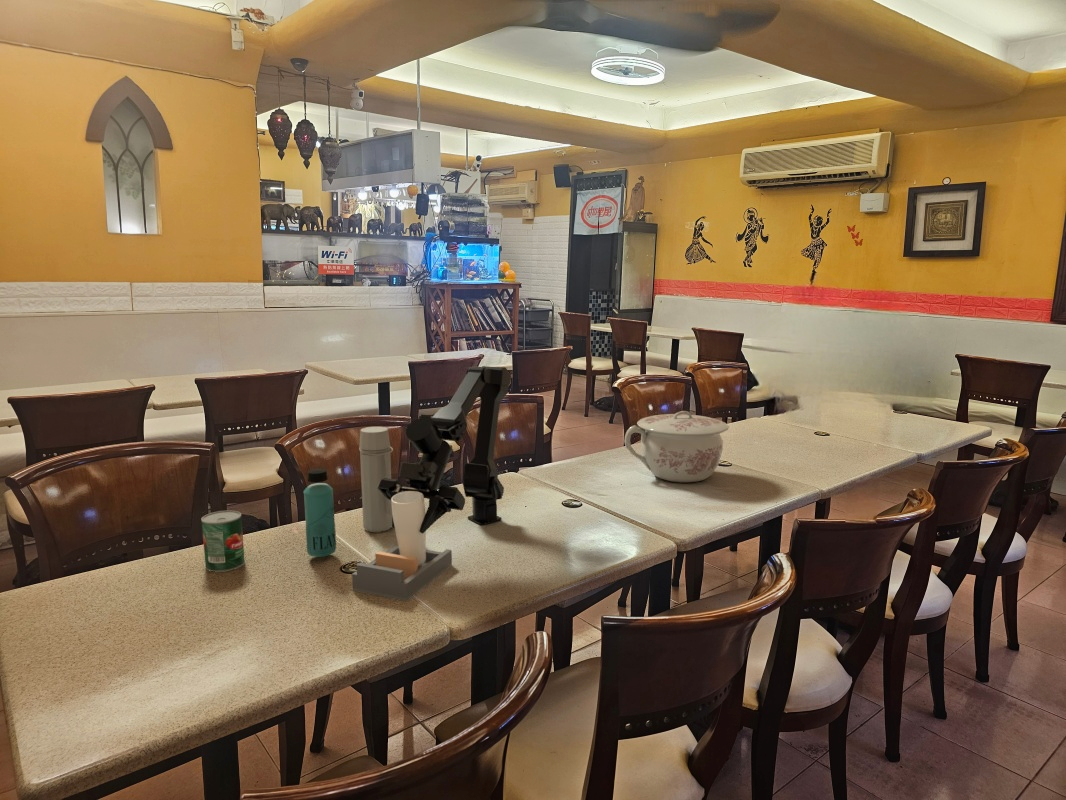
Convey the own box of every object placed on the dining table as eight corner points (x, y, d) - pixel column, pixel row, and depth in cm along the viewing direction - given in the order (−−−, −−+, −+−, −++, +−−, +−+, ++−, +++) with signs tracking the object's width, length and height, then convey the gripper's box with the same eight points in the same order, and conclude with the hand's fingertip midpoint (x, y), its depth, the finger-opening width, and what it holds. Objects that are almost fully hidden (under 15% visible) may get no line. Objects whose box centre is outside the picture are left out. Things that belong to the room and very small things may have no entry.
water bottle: (356, 528, 175) (351, 429, 170) (382, 520, 180) (379, 424, 176) (378, 538, 169) (373, 435, 164) (405, 529, 174) (401, 430, 170)
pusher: (379, 574, 147) (378, 551, 146) (418, 581, 143) (417, 558, 143) (376, 576, 146) (375, 553, 145) (415, 583, 142) (414, 560, 141)
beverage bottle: (309, 565, 153) (304, 476, 149) (304, 554, 159) (298, 468, 155) (340, 560, 156) (335, 472, 152) (333, 549, 162) (329, 464, 158)
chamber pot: (738, 472, 223) (741, 408, 219) (709, 496, 200) (712, 424, 196) (654, 460, 238) (656, 399, 234) (618, 480, 215) (620, 413, 211)
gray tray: (402, 556, 158) (401, 532, 157) (451, 565, 153) (451, 540, 152) (352, 590, 141) (351, 563, 140) (406, 601, 137) (405, 573, 136)
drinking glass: (409, 574, 146) (402, 506, 142) (391, 562, 151) (384, 497, 147) (436, 562, 150) (430, 496, 146) (417, 551, 155) (411, 487, 151)
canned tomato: (205, 561, 156) (201, 513, 154) (244, 555, 159) (240, 508, 157) (205, 575, 148) (200, 525, 146) (245, 568, 151) (241, 519, 149)
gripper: (380, 441, 152) (351, 507, 144) (457, 450, 145) (431, 519, 137) (401, 467, 161) (375, 530, 153) (475, 476, 154) (452, 542, 146)
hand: (407, 530), depth 147 cm, fingers closed on drinking glass, 6 cm apart
